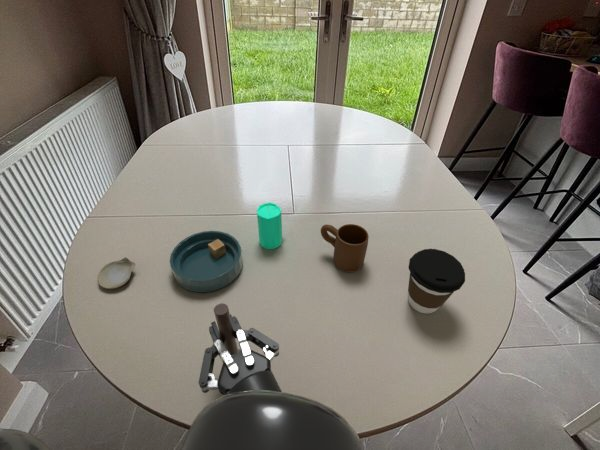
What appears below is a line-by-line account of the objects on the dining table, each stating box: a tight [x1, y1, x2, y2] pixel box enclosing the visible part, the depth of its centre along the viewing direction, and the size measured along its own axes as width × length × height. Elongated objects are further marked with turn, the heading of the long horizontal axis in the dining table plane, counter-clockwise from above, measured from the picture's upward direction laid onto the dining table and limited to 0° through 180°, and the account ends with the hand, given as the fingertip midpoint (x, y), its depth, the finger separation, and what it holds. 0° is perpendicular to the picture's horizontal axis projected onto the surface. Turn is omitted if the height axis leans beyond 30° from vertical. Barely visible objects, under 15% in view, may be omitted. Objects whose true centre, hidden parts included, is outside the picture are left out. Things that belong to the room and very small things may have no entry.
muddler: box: [213, 302, 241, 355], centre depth 56 cm, size 4×4×16 cm
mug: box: [320, 223, 370, 273], centre depth 81 cm, size 12×8×9 cm, turn 59°
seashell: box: [97, 256, 136, 290], centre depth 77 cm, size 8×3×8 cm
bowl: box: [169, 230, 244, 293], centre depth 79 cm, size 16×16×4 cm
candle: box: [256, 201, 283, 250], centre depth 84 cm, size 6×6×12 cm
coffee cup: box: [407, 248, 466, 315], centre depth 70 cm, size 11×11×12 cm
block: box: [208, 239, 226, 259], centre depth 83 cm, size 3×3×3 cm
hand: (221, 321), depth 58 cm, fingers closed on muddler, 2 cm apart
